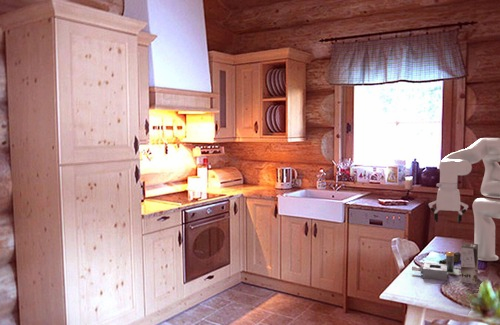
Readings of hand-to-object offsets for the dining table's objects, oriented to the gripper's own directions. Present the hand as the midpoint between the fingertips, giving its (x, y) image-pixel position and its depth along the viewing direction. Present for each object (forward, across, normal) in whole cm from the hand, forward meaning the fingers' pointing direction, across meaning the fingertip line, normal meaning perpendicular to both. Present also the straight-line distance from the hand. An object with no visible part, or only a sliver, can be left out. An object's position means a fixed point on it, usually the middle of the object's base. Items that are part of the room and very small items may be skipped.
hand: (447, 222), depth 201 cm
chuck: (+25, -8, -9) cm, 27 cm away
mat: (+24, +1, +1) cm, 24 cm away
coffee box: (+24, +9, -10) cm, 28 cm away
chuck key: (+24, +1, 0) cm, 24 cm away
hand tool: (+24, +3, +14) cm, 28 cm away
